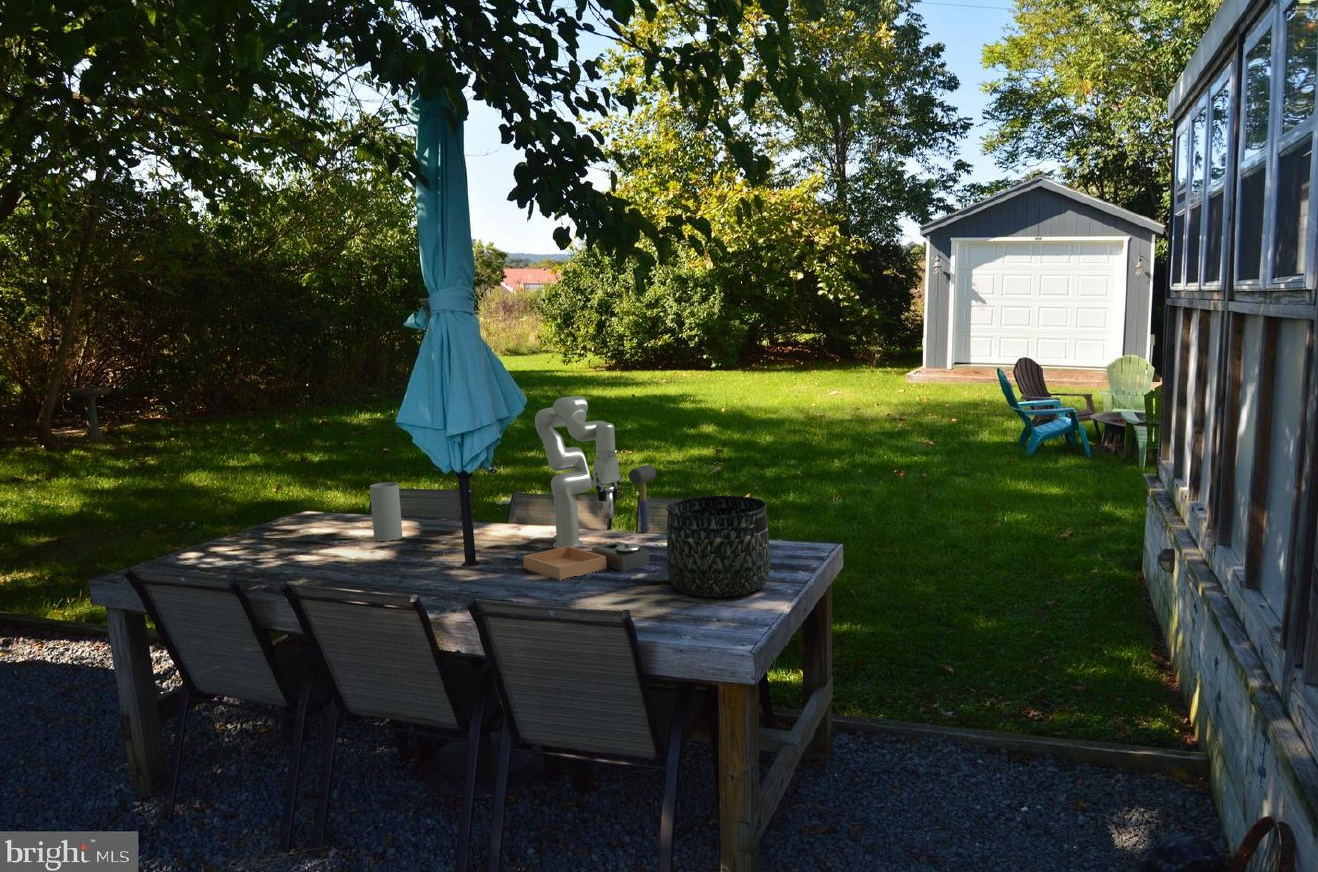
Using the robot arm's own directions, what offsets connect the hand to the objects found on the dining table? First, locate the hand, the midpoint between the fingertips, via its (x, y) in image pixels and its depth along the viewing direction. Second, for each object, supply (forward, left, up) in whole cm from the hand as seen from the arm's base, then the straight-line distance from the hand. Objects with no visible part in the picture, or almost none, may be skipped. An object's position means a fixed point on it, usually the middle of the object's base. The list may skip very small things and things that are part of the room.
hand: (607, 499), depth 405 cm
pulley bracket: (+5, +1, -25) cm, 26 cm away
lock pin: (0, 0, -7) cm, 7 cm away
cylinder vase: (-109, -45, -26) cm, 120 cm away
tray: (-5, -19, -25) cm, 32 cm away
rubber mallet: (-30, +41, -26) cm, 57 cm away
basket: (+58, +5, -26) cm, 64 cm away
